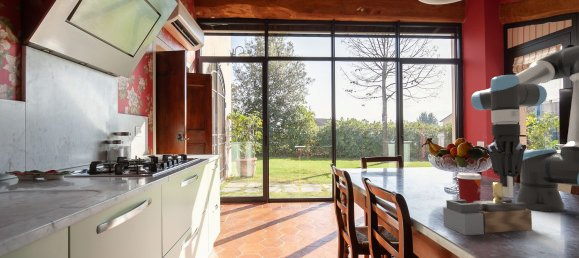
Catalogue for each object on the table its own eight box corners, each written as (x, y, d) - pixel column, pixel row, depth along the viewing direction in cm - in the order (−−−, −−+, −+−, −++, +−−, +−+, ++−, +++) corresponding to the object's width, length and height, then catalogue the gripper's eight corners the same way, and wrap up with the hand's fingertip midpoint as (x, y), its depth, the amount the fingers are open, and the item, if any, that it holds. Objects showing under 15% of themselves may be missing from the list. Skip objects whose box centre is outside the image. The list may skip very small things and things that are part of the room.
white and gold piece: (498, 206, 98) (497, 182, 98) (506, 208, 95) (505, 183, 95) (473, 207, 97) (472, 183, 97) (480, 209, 94) (479, 184, 94)
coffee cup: (487, 217, 107) (486, 175, 108) (462, 216, 109) (461, 175, 109) (477, 211, 116) (476, 172, 116) (454, 211, 117) (453, 172, 118)
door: (509, 222, 101) (508, 198, 101) (532, 229, 93) (531, 203, 93) (466, 225, 99) (465, 200, 99) (485, 232, 91) (484, 206, 91)
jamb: (460, 224, 100) (459, 198, 100) (483, 234, 90) (482, 205, 90) (443, 225, 99) (442, 199, 99) (465, 235, 89) (464, 206, 89)
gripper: (497, 123, 93) (499, 199, 92) (534, 123, 95) (536, 198, 94) (478, 124, 100) (480, 195, 100) (513, 124, 102) (515, 193, 101)
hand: (507, 196), depth 97 cm, fingers closed
